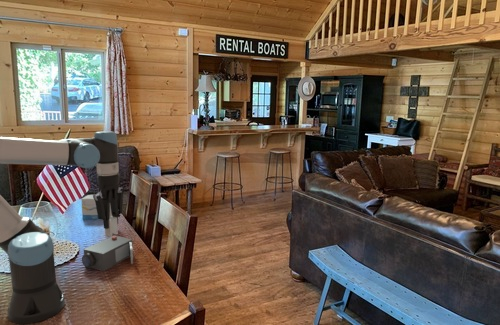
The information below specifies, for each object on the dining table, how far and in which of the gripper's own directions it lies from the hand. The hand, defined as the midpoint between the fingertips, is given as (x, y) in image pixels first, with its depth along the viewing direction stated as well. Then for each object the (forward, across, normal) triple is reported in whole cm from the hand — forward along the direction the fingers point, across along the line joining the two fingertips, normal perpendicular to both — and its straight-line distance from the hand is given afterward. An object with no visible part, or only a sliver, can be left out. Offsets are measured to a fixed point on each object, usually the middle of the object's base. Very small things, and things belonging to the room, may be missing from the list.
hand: (111, 234), depth 138 cm
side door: (+14, +9, 0) cm, 17 cm away
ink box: (+15, +43, +57) cm, 73 cm away
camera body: (+14, +5, +8) cm, 17 cm away
